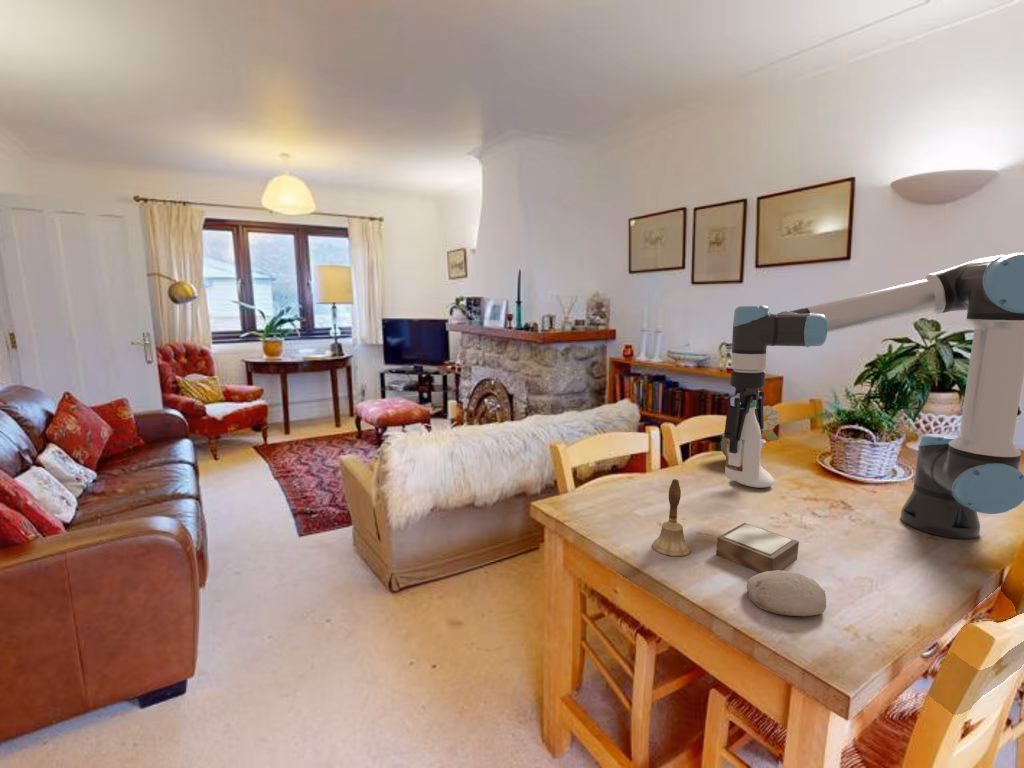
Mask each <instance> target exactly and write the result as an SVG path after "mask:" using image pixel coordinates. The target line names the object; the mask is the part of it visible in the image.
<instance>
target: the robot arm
mask: <svg viewBox="0 0 1024 768" xmlns="http://www.w3.org/2000/svg"><path fill="white" fill-rule="evenodd" d="M956 311H967V313H966V321H967V322H968V323H969V324H970V325H971V326H972V327H973V329H974V331H973V335H972V336H973V338H972V343H971V351H970V355H969V356H970V357H969V364H968V372H967V378H966V386H965V391H964V400H963V404H962V405H963V406H962V411H961V420H960V426H959V434H958V435H956V434H955V435H953V434H945V433H944V434H943V433H942V434H940V433H926V434H923V435H922V436H921V438H920V441H919V444H918V446H917V448H918V451H917V457H916V459H917V460H916V464H915V466H916V467H915V473H914V474H915V475H914V482H913V487H912V491H911V493H910V495H909V496H908V498H907V500H906V501H905V503H904V504H903V506H902V507H901V511H900V519H901V521H902V522H903V523H905V524H906V525H908V526H910V527H912V528H914V529H916V530H919V531H921V532H925V533H928V534H930V535H935V536H939V537H945V538H949V539H950V538H951V539H959V540H969V539H970V540H972V539H975V538H978V537H979V536H980V531H981V524H980V523H981V522H980V520H979V515H978V513H980V514H986V515H987V514H988V515H997V514H1003V513H1007V512H1009V511H1010V510H1012V509H1014V508H1015V509H1016V508H1017V507H1019V506H1020V505H1021V504H1022V503H1023V502H1024V473H1023V472H1022V471H1020V469H1019V468H1020V462H1021V457H1022V452H1021V450H1020V449H1019V448H1017V447H1016V446H1015V445H1014V443H1013V441H1014V436H1015V430H1016V425H1017V417H1018V412H1019V405H1020V400H1021V394H1022V387H1023V382H1024V252H1014V253H1013V252H1011V253H1006V254H1000V255H995V256H985V257H982V258H977V259H974V260H970V261H968V262H964V263H962V264H960V265H956V266H953V267H950V268H946V269H943V270H939V271H937V272H932V273H928V274H926V276H924V279H922V280H916V281H912V282H909V283H904V284H899V285H896V286H891V287H887V288H883V289H878V290H874V291H870V292H866V293H861V294H857V295H853V296H848V297H845V298H841V299H835V300H832V301H828V302H823V303H819V304H815V305H810V306H807V307H804V308H798V309H794V310H789V311H787V310H786V311H781V312H778V313H777V314H776V313H771V312H770V307H769V306H767V305H740V306H738V307H736V308H735V309H734V314H733V322H732V337H731V339H732V342H731V356H730V359H731V363H730V366H731V369H732V370H731V371H730V378H729V379H730V381H729V382H730V386H731V387H733V388H735V392H734V395H733V396H728V397H727V399H726V400H727V401H726V402H727V410H726V418H725V424H724V426H725V427H724V431H723V432H724V437H725V438H727V439H729V458H728V464H729V465H733V466H737V467H740V465H741V447H742V440H740V436H741V432H742V428H743V424H744V420H745V416H746V414H747V413H748V412H749V408H751V407H750V403H752V400H756V409H755V416H756V419H757V421H758V424H759V426H760V429H761V435H763V434H764V431H763V430H762V429H763V427H764V423H763V406H764V399H765V391H762V390H759V389H762V388H763V387H764V386H765V379H766V376H765V375H766V374H765V372H764V370H766V369H767V368H766V367H767V366H766V365H767V349H768V347H769V346H770V347H776V346H777V347H806V348H809V347H820V346H823V345H824V343H825V342H826V340H827V337H828V334H830V333H833V332H834V333H835V332H839V331H844V330H848V329H852V328H858V327H863V326H867V325H872V324H875V323H876V324H877V323H881V322H886V321H891V320H895V319H900V318H904V317H905V318H906V317H909V316H915V315H919V314H925V313H927V312H928V313H929V312H932V313H934V314H936V315H938V314H943V313H949V312H956ZM740 408H744V409H740Z"/></svg>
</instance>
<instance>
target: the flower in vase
mask: <svg viewBox="0 0 1024 768" xmlns="http://www.w3.org/2000/svg"><path fill="white" fill-rule="evenodd" d="M779 413H780V412H779V411H778V410H777V409H775V408H774V407H773V406H770V405H766V406H764V405H763V423H764V427H763V429H762V430H763V433H762V434H761V438H762V439H761V449H762V448H763V446H764V445H765V444H766V443H767V440H768V441H779V438H778V436H777V434H776V433H775V432H774V431H771V430H774V429H775V427H776V426H777V425H778V423H780V421H781V418H780V414H779ZM760 430H761V429H760ZM764 436H765V438H766V439H767V440H766V439H763V437H764ZM736 482H737V483H739V484H740V485H744V486H747V487H752V488H758V489H759V488H761V489H762V488H770V487H772V486H773V485H774V484H775V479H774V477H773V476H772V475H771V474H770V473H769V472H768V471H767V470H766V469H764V467H762V465H761V464H760V470H759V479H758V480H757V481H755V482H738V481H736Z"/></svg>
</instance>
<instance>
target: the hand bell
mask: <svg viewBox="0 0 1024 768" xmlns="http://www.w3.org/2000/svg"><path fill="white" fill-rule="evenodd" d="M681 491H682V490H681V486H680V481H679V479H677V478H673V479H672V481H671V484H670V486H669V489H668V503H669V515H668V520H667V521H665V522H663V523H662V524H661V530H660V534H659V536H658V537H657V538H656V539H654V540H653V541H652V545H651V546H652V547H653V549H654V550H655V551H656V552H657V553H660V554H661V555H665V556H670V557H684V556H688V555H689V554H690V553H691V551H692V549H691V546H690V545H689V544H688V543H687V542H686V541H687V540H686V539H685V535H684V528H683V525H682V524H681V523H679V522H677V521H678V508H679V504H680V502H681V501H680V500H681V497H682V496H681V494H682V493H681Z"/></svg>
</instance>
